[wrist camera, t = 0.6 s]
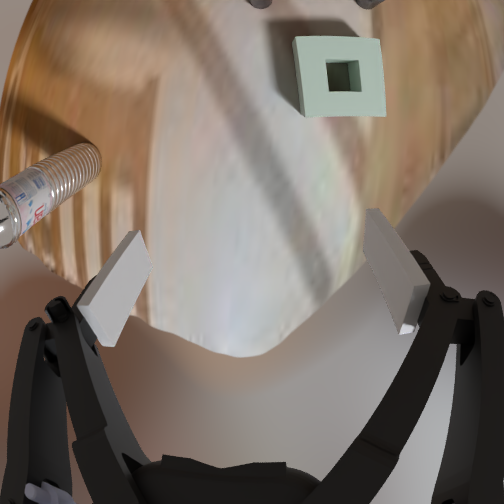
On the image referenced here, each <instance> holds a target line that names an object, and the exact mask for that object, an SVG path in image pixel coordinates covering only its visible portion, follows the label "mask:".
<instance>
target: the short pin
mask: <svg viewBox="0 0 504 504" xmlns="http://www.w3.org/2000/svg"><path fill="white" fill-rule="evenodd" d="M383 1H385V0H356V2H357V4H358V5H359V6H360V7H362V8H364V9H372V8H374V7H375V6H377V5H378V4H380V3H381V2H383Z"/></svg>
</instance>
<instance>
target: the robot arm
mask: <svg viewBox="0 0 504 504" xmlns="http://www.w3.org/2000/svg"><path fill="white" fill-rule="evenodd" d="M363 252H364V254H365V256H366V258H367V261H368V262H369V265H370V267H371V269H372V271H373V273H374V276H375V278H376V280H377V283H378V285H379V287H380V289H381V292H382V294H383V296H384V299H385V301H386V303H387V306H388V308H389V311H390V313H391V315H392V318H393V321H394V323H395V326H396V328H397V331H398V334H399V335H400V334H406V333H411V332H414V331H415V328H416V325H417V323H418V325H419V327H420V328H419V330H418V333H417V335H416V337H415V339H414V341H413V343H412V345H411V347H410V350H409V352H408V354H407V355H406V358H405V359H404V361H403V363H402V365H401V367H400V369H399V371H398V373H397V375H396V376H395V378H394V380H393V382H392V384H391V385H390V387H389V389H388V390H387V392H386V394H385V396H384V397H383V399H382V401H381V402H380V404H379V405H378V407H377V409H376V410H375V412H374V413H373V415H372V416H371V418H370V419H369V421H368V423H367V424H366V425H365V427H364V428H363V430H362V431H361V433H360V434H359V435H358V436H357V437H356V439H355V440H354V441H353V443H352V444H351V445H350V447H349V448H348V449H347V451H346V452H345V453H344V455H343V456H342V457H341V458H340V460H339V461H338V462H337V464H336V465H335V466H334V467H333V468H332V470H331V471H330V472H329V473H328V475H327V476H326V477H325V478H324V479H323V480H322V481H319V480H318V479H316V478H315V477H313V476H312V475H310V474H308V473H305V472H303V471H301V470H297V469H294V468H288V467H287V466H286V462H271V463H250V464H245V465H239V466H234V467H228V468H216V467H214V466H210V465H207V464H204V463H201V462H199V461H196V460H193V459H191V458H183V457H176V456H169V455H163V456H162V460H161V461H156V462H151V461H150V460H149V459H148V458H147V457H146V455H145V454H144V453H143V451H142V450H141V448H140V446H139V444H138V442H137V440H136V438H135V436H134V434H133V433H132V430H131V429H130V426H129V424H128V422H127V420H126V418H125V416H124V414H123V412H122V409H121V407H120V405H119V403H118V400H117V398H116V395H115V393H114V391H113V388H112V386H111V383H110V381H109V378H108V376H107V373H106V370H105V368H104V365H103V362H102V360H101V357H100V354H99V351H98V348H97V347H96V345H95V344H94V343H95V341H96V339H97V338H98V340H99V341H100V343H101V344H102V346H111V347H115V344H116V342H117V340H118V338H119V335H120V333H121V331H122V329H123V327H124V324H125V323H126V320H127V318H128V316H129V314H130V312H131V310H132V308H133V306H134V304H135V302H136V300H137V298H138V296H139V294H140V292H141V290H142V288H143V286H144V284H145V282H146V280H147V278H148V276H149V274H150V272H151V270H152V268H153V266H152V263H151V260H150V258H149V255H148V252H147V249H146V246H145V244H144V241H143V238H142V235H141V232H140V230H136V231H129V232H128V234H127V235H126V236H125V238H124V239H123V240H122V241H121V243H120V244H119V245H118V247H117V248H116V249H115V251H114V252H113V253H112V255H111V256H110V258H109V259H108V260H107V262H106V263H105V264H104V266H103V267H102V269H101V270H100V271H99V273H98V274H97V275H96V276H95V277H93V278H92V279H91V280H90V281H89V282H88V284H87V285H86V287H85V289H83V291H82V293H81V294H80V296H79V297H78V298H77V300H76V301H75V303H74V305H73V306H72V308H71V307H70V306H69V304H68V302H67V300H66V298H65V297H63V296H59V297H56V298H54V299H53V300H51V301H50V302H49V303H48V304H47V305H46V307H45V312H46V314H47V316H48V317H49V319H50V320H51V321H52V322H51V323H47V324H45V322H44V321H43V320H42V318H40V317H37V318H34V319H32V320H31V321H29V322H28V324H27V325H26V327H25V330H24V334H23V338H22V342H21V346H20V350H19V355H18V359H17V365H16V370H15V375H14V381H13V388H12V394H11V402H10V411H9V422H8V439H7V464H6V469H5V474H4V479H3V483H2V489H1V495H0V504H77V503H75V502H74V500H73V498H72V477H71V468H70V460H69V451H68V438H67V418H66V417H67V416H66V402H67V406H68V410H69V413H70V417H71V421H72V424H73V428H74V431H75V434H76V437H77V440H76V441H74V442H73V443H72V448H73V452H74V455H75V458H76V461H77V463H78V466H79V469H80V472H81V474H82V477H83V479H84V482H85V484H86V487H87V489H88V491H89V494H90V496H91V498H92V500H93V503H92V504H369V503H370V502H371V501H372V499H373V498H374V497H375V495H376V494H377V493H378V491H379V490H380V488H381V487H382V486H383V484H384V483H385V481H386V480H387V478H388V477H389V475H390V474H391V472H392V470H393V469H394V467H395V466H396V464H397V462H398V459H399V455H400V452H401V451H402V449H403V447H404V445H405V444H406V442H407V440H408V439H409V437H410V435H411V433H412V431H413V429H414V427H415V425H416V423H417V422H418V419H419V418H420V416H421V413H422V411H423V409H424V407H425V405H426V403H427V401H428V398H429V396H430V394H431V392H432V389H433V387H434V385H435V382H436V380H437V377H438V375H439V372H440V370H441V367H442V364H443V362H444V359H445V356H446V353H447V350H448V347H449V344H457V353H456V372H455V384H454V394H453V403H452V410H451V417H450V424H449V429H448V435H447V440H446V445H445V449H444V454H443V458H442V462H441V466H440V470H439V473H438V477H437V481H436V484H435V488H434V492H433V495H432V500H431V504H504V484H503V480H504V317H503V311H502V306H501V302H500V300H499V298H498V297H497V296H496V295H495V294H494V293H492V292H489V291H484V290H483V291H480V292H479V293H478V294H477V296H476V298H475V299H467V298H462V297H461V295H460V293H458V292H457V291H456V290H455V289H453V288H451V287H447V286H445V285H444V283H443V282H442V280H441V279H440V277H439V276H438V274H437V273H436V271H435V270H434V269H433V267H432V265H431V264H429V261H428V260H427V258H426V257H425V256H424V255H423V254H422V253H420V252H419V251H418V250H414V251H409V250H408V248H407V247H406V245H405V244H404V243H403V241H402V240H401V238H400V237H399V235H398V234H397V233H396V231H395V230H394V228H393V227H392V226H391V224H390V223H389V221H388V220H387V219H386V217H385V216H384V215H383V213H382V212H381V211H380V210H379V208H376V209H366V219H365V233H364V245H363ZM44 358H45V361H44Z"/></svg>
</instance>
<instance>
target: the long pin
mask: <svg viewBox="0 0 504 504" xmlns="http://www.w3.org/2000/svg"><path fill="white" fill-rule="evenodd" d="M250 3H251V5H252V6H253V7H255V8H258V9H264V8H267V7H269V6H270V5H271V3H272V0H250Z"/></svg>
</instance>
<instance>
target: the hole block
mask: <svg viewBox="0 0 504 504" xmlns="http://www.w3.org/2000/svg"><path fill="white" fill-rule="evenodd" d="M292 48H293V55H294V62H295V69H296V77H297V85H298V93H299V102H300V111H301V115H303V116H304V117H328V116H382V117H386V100H385V86H384V74H383V64H382V55H381V47H380V40H379V39H374V38H362V37H346V36H296V37H295V38H294V40H293V42H292ZM326 63H348V72H349V82H350V91H329V88H328V78H327V70H326Z"/></svg>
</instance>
